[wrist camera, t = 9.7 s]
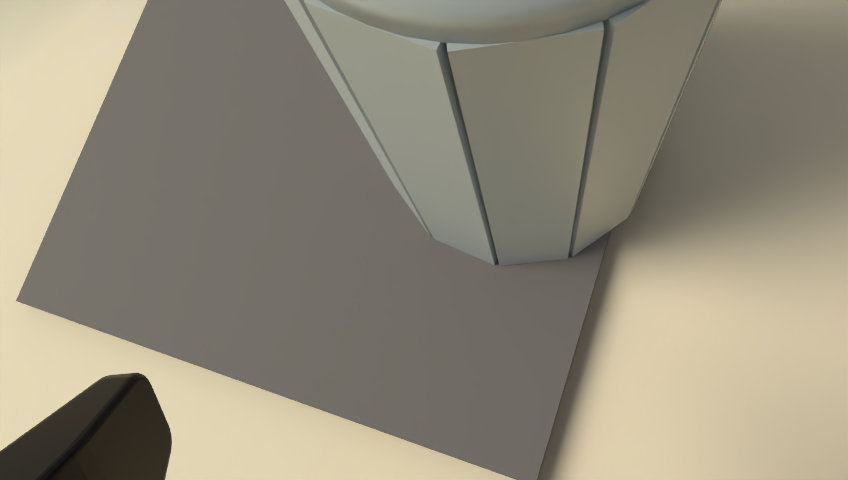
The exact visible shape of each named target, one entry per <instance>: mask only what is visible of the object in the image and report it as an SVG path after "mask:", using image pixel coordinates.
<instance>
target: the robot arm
mask: <svg viewBox="0 0 848 480" xmlns="http://www.w3.org/2000/svg"><path fill="white" fill-rule="evenodd" d="M171 444H172V440H171V432H170V428H169V425H168V423H167V421H166V418H165V416H164V414H163V411H162V409H161V407H160V404H159V402H158V400H157V397H156V395H155V393H154V390H153V388H152V386H151V384H150V382H149V380H148V379H147V378H146V377H145V376H144V375H142V374H139V373H130V374H119V375H109V376H105V377H103V378H101V379H100V380H98V381H97V382H95V383H94V384H93V385H91V386H90V387H88V388H87V389H86V390H84V391H83V392H82V393H80V394H79V395H77V396H76V397H75V398H73V399H72V400H71V401H69V402H68V403H66V404H65V405H64V406H62V407H61V408H59V409H58V410H57V411H55V412H54V413H53V414H51V415H50V416H48V417H47V418H46V419H44V420H43V421H41V422H40V423H39V424H37V425H36V426H35V427H33V428H32V429H30V430H29V431H28V432H26V433H25V434H24V435H22V436H21V437H19V438H18V439H17V440H15V441H14V442H12V443H11V444H10V445H8V446H7V447H6V448H4V449H3V450H1V451H0V480H165V477H166V472H167V467H168V463H169V458H170V453H171Z"/></svg>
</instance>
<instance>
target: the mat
mask: <svg viewBox="0 0 848 480" xmlns="http://www.w3.org/2000/svg"><path fill="white" fill-rule="evenodd" d="M610 231H611V230H610ZM610 231H608V232H607V233H606V234H604V235H603V236H601V237H600V238H599V239H597V240H596V241H594V242H593V243H592V244H590V245H589V246H587V247H586V248H585V249H583V250H582V251H580V252H579V253H577V254H576V255H575V256H573V257H572V256H571V254H570V253H569V254H568V259H561V260H551V261H542V262H532V263H523V264H513V265H504V266H499V262H498V259H497V261H496V263H495V265H493V264H491V263H488V262H486V261H484V260H481V259H479V258H477V257H474V256H472V255H470V254H468V253H465V252H463V251H461V250H458V249H456V248H454V247H451V246H449V245H447V244H444V243H442V242H440V241H438V240H435V239H434V238H433V236H432V235H431V236H430V235H429V234H428V232H427V231H426V229H425V228H424V227H423V225H422V224H421V222H420V221H419V220H418V218H417V217H416V216H415V214H414V213H413V211H412V210H411V209H410V207H409V206H408V204H407V203H406V202H405V200H404V199H403V197H402V196H401V195H400V193H399V192H398V190H397V189H396V188H395V186H394V185H393V183H392V181H391V180H390V178H389V176H388V175H387V173H386V171H385V170H384V168H383V166H382V165H381V163H380V161H379V159H378V158H377V156H376V154H375V153H374V151H373V149H372V148H371V146H370V144H369V143H368V141H367V139H366V137H365V136H364V134H363V132H362V131H361V129H360V127H359V126H358V124H357V122H356V121H355V119H354V117H353V115H352V114H351V112H350V110H349V109H348V107H347V105H346V104H345V102H344V100H343V99H342V97H341V95H340V94H339V92H338V90H337V88H336V87H335V85H334V83H333V82H332V80H331V78H330V77H329V75H328V73H327V72H326V70H325V68H324V66H323V65H322V63H321V61H320V60H319V58H318V56H317V55H316V53H315V51H314V50H313V48H312V46H311V44H310V43H309V41H308V39H307V38H306V36H305V34H304V33H303V31H302V29H301V28H300V26H299V24H298V23H297V21H296V19H295V17H294V16H293V14H292V12H291V11H290V9H289V7H288V6H287V4H286V2H285V1H284V0H148V1H147V3H146V6H145V8H144V10H143V13H142V15H141V17H140V19H139V22H138V24H137V26H136V28H135V31H134V33H133V35H132V38H131V40H130V42H129V44H128V47H127V49H126V51H125V54H124V56H123V58H122V60H121V63H120V65H119V67H118V70H117V72H116V74H115V76H114V79H113V81H112V83H111V86H110V88H109V90H108V92H107V95H106V97H105V99H104V101H103V104H102V106H101V108H100V111H99V113H98V115H97V117H96V120H95V122H94V124H93V127H92V129H91V131H90V133H89V136H88V138H87V140H86V143H85V145H84V147H83V149H82V152H81V154H80V156H79V158H78V161H77V163H76V165H75V168H74V170H73V172H72V174H71V177H70V179H69V181H68V184H67V186H66V188H65V190H64V193H63V195H62V197H61V200H60V202H59V204H58V206H57V209H56V211H55V213H54V216H53V218H52V220H51V222H50V225H49V227H48V229H47V231H46V234H45V236H44V238H43V241H42V243H41V245H40V247H39V250H38V252H37V254H36V257H35V259H34V261H33V263H32V266H31V268H30V270H29V273H28V275H27V277H26V279H25V282H24V284H23V286H22V289H21V291H20V293H19V295H18V298H17V300H16V301H18V302H21V303H23V304H26V305H29V306H32V307H35V308H37V309H40V310H43V311H46V312H49V313H51V314H54V315H57V316H60V317H63V318H65V319H68V320H71V321H74V322H77V323H79V324H82V325H85V326H88V327H91V328H93V329H96V330H99V331H102V332H105V333H107V334H110V335H113V336H116V337H119V338H121V339H124V340H127V341H130V342H133V343H135V344H138V345H141V346H144V347H147V348H149V349H152V350H155V351H158V352H161V353H163V354H166V355H169V356H172V357H175V358H177V359H180V360H183V361H186V362H189V363H191V364H194V365H197V366H200V367H203V368H205V369H208V370H211V371H214V372H217V373H219V374H222V375H225V376H228V377H231V378H233V379H236V380H239V381H242V382H245V383H247V384H250V385H253V386H256V387H259V388H261V389H264V390H267V391H270V392H273V393H275V394H278V395H281V396H284V397H287V398H289V399H292V400H295V401H298V402H301V403H303V404H306V405H309V406H312V407H314V408H317V409H320V410H323V411H326V412H328V413H331V414H334V415H337V416H340V417H342V418H345V419H348V420H351V421H354V422H356V423H359V424H362V425H365V426H368V427H370V428H373V429H376V430H379V431H382V432H384V433H387V434H390V435H393V436H396V437H398V438H401V439H404V440H407V441H410V442H412V443H415V444H418V445H421V446H424V447H426V448H429V449H432V450H435V451H438V452H440V453H443V454H446V455H449V456H452V457H454V458H457V459H460V460H463V461H466V462H468V463H471V464H474V465H477V466H480V467H482V468H485V469H488V470H491V471H494V472H496V473H499V474H502V475H505V476H508V477H510V478H513V479H516V480H537V478H538V474H539V471H540V468H541V464H542V461H543V457H544V454H545V451H546V447H547V444H548V440H549V437H550V434H551V430H552V427H553V424H554V420H555V417H556V413H557V410H558V407H559V403H560V400H561V396H562V393H563V390H564V386H565V383H566V380H567V376H568V373H569V369H570V366H571V363H572V359H573V356H574V352H575V349H576V346H577V342H578V339H579V336H580V332H581V329H582V325H583V322H584V319H585V315H586V312H587V308H588V305H589V302H590V298H591V295H592V292H593V288H594V285H595V281H596V278H597V275H598V271H599V268H600V264H601V261H602V258H603V254H604V251H605V248H606V244H607V241H608V237H609V234H610Z"/></svg>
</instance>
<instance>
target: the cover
mask: <svg viewBox="0 0 848 480" xmlns="http://www.w3.org/2000/svg"><path fill="white" fill-rule="evenodd" d="M284 1H285V2H286V4H287V6H288V7H289V9H290V11H291V12H292V14H293V16H294V17H295V19H296V21H297V23H298V24H299V26H300V28H301V29H302V31H303V33H304V34H305V36H306V38H307V39H308V41H309V43H310V44H311V46H312V48H313V50H314V51H315V53H316V55H317V56H318V58H319V60H320V61H321V63H322V65H323V66H324V68H325V70H326V72H327V73H328V75H329V77H330V78H331V80H332V82H333V83H334V85H335V87H336V88H337V90H338V92H339V94H340V95H341V97H342V99H343V100H344V102H345V104H346V105H347V107H348V109H349V110H350V112H351V114H352V115H353V117H354V119H355V121H356V122H357V124H358V126H359V127H360V129H361V131H362V132H363V134H364V136H365V137H366V139H367V141H368V143H369V144H370V146H371V148H372V149H373V151H374V153H375V154H376V156H377V158H378V159H379V161H380V163H381V165H382V166H383V168H384V170H385V171H386V173H387V175H388V176H389V178H390V180H391V181H392V183H393V185H394V186H395V188H396V189H397V190H398V192H399V193H400V195H401V196H402V197H403V199H404V200H405V202H406V203H407V204H408V206H409V207H410V209H411V210H412V211H413V213H414V214H415V216H416V217H417V218H418V220H419V221H420V222H421V224H422V225H423V227H424V228H425V229H426V231H427V232H428V234H429V235H430V236H431V235H432V236H433V238H434V239H435V240H438V241H440V242H442V243H444V244H447V245H449V246H451V247H454V248H456V249H458V250H461V251H463V252H465V253H468V254H470V255H472V256H474V257H477V258H479V259H481V260H484V261H486V262H488V263H491V264H493V265H495V263H496V261H497V259H498V262H499V266H504V265H513V264H523V263H532V262H542V261H551V260H561V259H568V254H569V253H570V254H571V256H572V257H573V256H575V255H576V254H577V253H579V252H580V251H582V250H583V249H585V248H586V247H587V246H589V245H590V244H592V243H593V242H594V241H596V240H597V239H599V238H600V237H601V236H603V235H604V234H606V233H607V232H608V231H610V230H611V229H613V228H614V227H616V226H617V225H618V224H620V223H621V222H623V221H624V220H625V219H627V218H628V217H629V214H630V213H632V211H633V209H634V206H635V204H636V202H637V199H638V197H639V195H640V193H641V190H642V188H643V186H644V183H645V181H646V179H647V177H648V174H649V172H650V170H651V167H652V165H653V163H654V160H655V158H656V156H657V154H658V151H659V149H660V146H661V144H662V142H663V139H664V137H665V135H666V132H667V130H668V127H669V125H670V123H671V120H672V118H673V116H674V113H675V111H676V108H677V106H678V104H679V101H680V99H681V97H682V94H683V92H684V89H685V87H686V85H687V82H688V80H689V78H690V75H691V73H692V70H693V68H694V66H695V63H696V61H697V59H698V56H699V54H700V51H701V49H702V47H703V44H704V42H705V40H706V37H707V35H708V32H709V30H710V28H711V25H712V23H713V20H714V18H715V16H716V13H717V11H718V9H719V6H720V4H721V1H722V0H284Z"/></svg>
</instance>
